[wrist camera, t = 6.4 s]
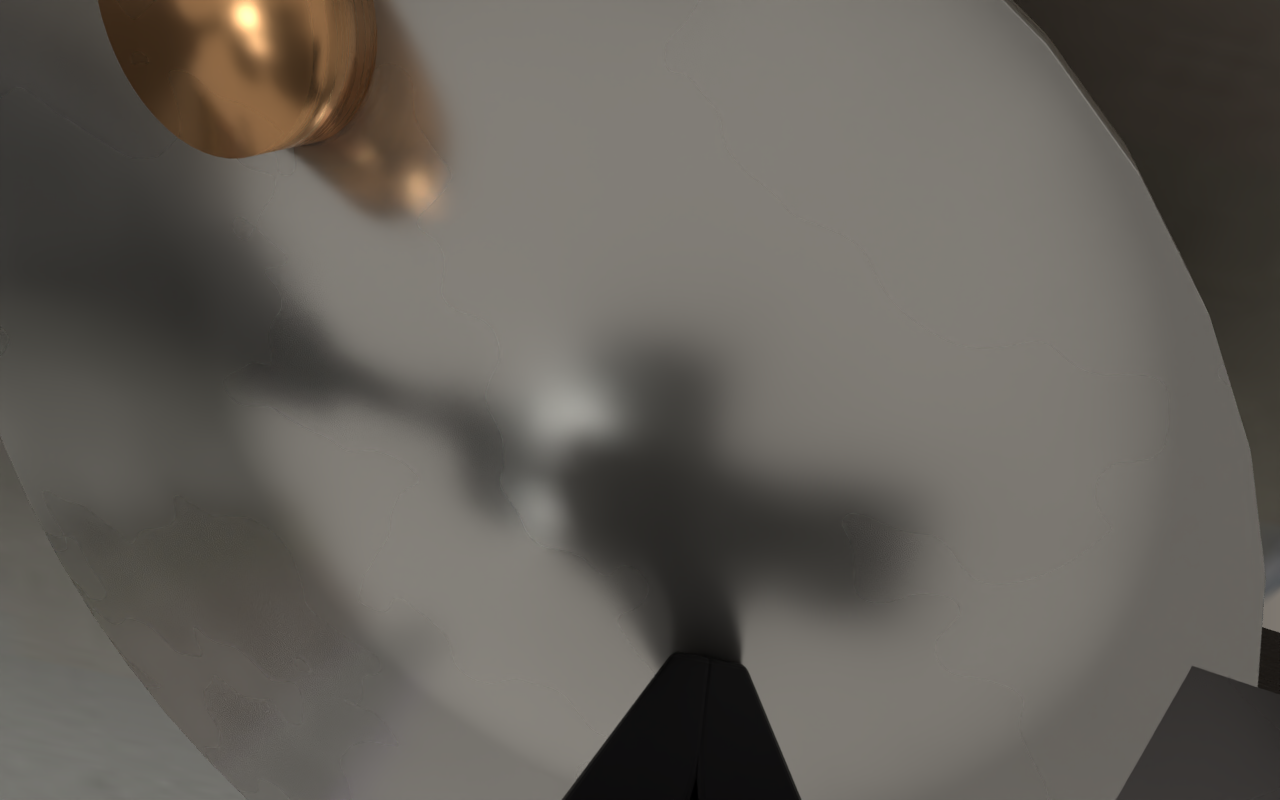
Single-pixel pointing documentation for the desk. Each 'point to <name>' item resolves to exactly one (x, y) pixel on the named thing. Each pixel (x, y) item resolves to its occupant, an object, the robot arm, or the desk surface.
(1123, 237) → the cooker lid
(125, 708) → the desk surface
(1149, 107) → the desk surface
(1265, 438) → the desk surface
